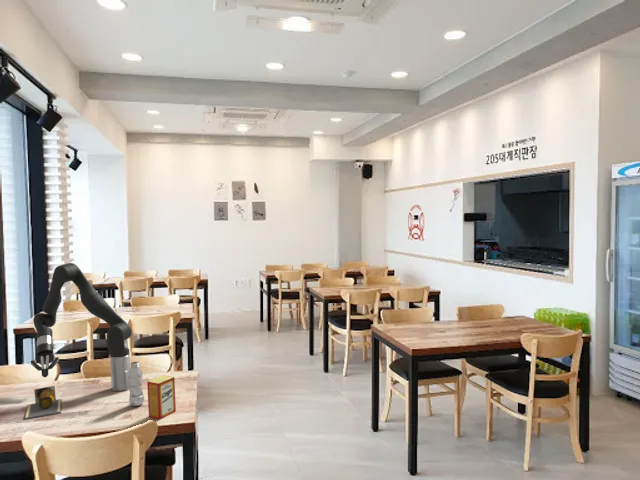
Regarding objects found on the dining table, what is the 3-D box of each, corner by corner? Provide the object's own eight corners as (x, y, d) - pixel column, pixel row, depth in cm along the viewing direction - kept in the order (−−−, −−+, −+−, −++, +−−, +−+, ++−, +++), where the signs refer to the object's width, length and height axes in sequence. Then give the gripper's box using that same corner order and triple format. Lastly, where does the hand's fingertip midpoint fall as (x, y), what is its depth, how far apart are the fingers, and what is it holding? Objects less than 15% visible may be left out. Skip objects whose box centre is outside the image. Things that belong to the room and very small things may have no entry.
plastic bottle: (147, 403, 229) (145, 361, 228) (137, 408, 222) (135, 365, 221) (136, 401, 231) (134, 360, 230) (126, 407, 224) (124, 364, 223)
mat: (27, 405, 229) (27, 404, 229) (61, 400, 236) (61, 398, 236) (24, 419, 213) (24, 418, 213) (60, 413, 220) (60, 411, 220)
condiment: (55, 400, 235) (55, 408, 224) (35, 404, 231) (33, 413, 221) (54, 385, 235) (53, 393, 224) (34, 389, 231) (32, 397, 220)
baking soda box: (164, 409, 221) (163, 374, 220) (175, 411, 218) (174, 376, 217) (148, 417, 212) (147, 381, 212) (160, 419, 210) (158, 383, 209)
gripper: (29, 344, 246) (28, 375, 236) (59, 340, 252) (59, 370, 242) (30, 352, 251) (30, 382, 241) (59, 348, 257) (60, 378, 247)
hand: (45, 376), depth 241 cm, fingers closed
